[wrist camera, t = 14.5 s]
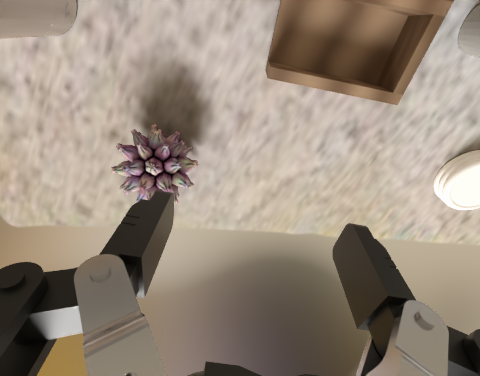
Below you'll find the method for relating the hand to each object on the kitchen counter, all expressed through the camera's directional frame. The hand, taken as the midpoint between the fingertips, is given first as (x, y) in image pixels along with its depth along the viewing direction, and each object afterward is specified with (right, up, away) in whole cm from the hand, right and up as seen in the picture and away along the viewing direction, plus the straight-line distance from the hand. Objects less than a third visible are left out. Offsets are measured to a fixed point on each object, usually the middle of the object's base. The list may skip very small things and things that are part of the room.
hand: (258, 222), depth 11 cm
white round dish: (+37, +4, +30) cm, 48 cm away
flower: (-13, +8, +29) cm, 33 cm away
